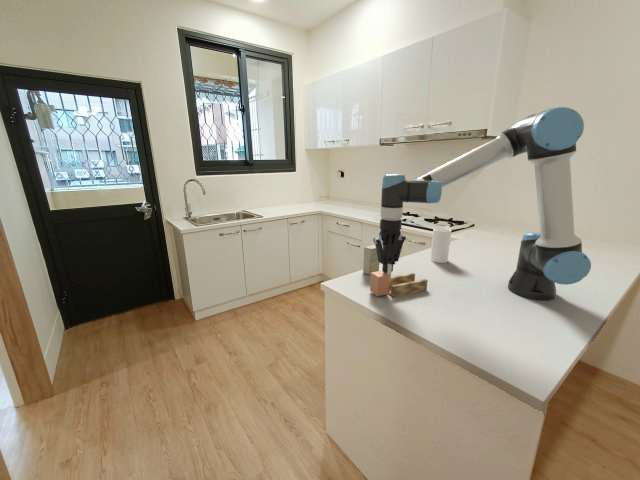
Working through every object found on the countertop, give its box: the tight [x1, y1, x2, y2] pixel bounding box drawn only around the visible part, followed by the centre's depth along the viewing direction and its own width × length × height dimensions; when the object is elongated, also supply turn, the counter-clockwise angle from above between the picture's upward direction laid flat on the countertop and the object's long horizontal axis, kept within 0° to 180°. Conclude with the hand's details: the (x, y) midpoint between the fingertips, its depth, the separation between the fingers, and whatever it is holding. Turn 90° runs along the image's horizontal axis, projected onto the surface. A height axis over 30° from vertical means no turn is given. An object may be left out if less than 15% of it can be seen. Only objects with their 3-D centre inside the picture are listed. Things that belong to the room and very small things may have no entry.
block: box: [369, 270, 390, 297], centre depth 110 cm, size 5×5×8 cm
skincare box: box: [362, 244, 380, 276], centre depth 131 cm, size 6×4×12 cm
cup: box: [430, 227, 452, 264], centre depth 147 cm, size 8×8×16 cm
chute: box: [388, 272, 428, 298], centre depth 115 cm, size 16×8×4 cm, turn 113°
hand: (387, 279), depth 111 cm, fingers closed
